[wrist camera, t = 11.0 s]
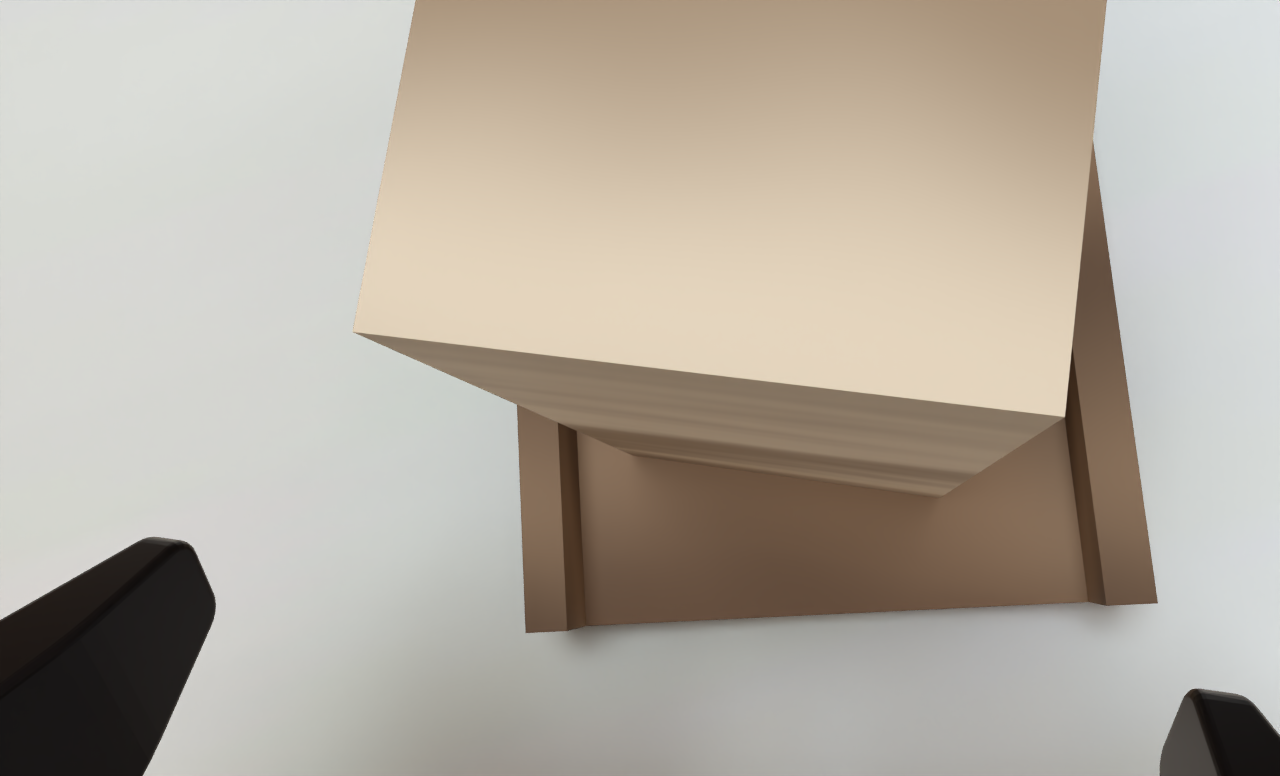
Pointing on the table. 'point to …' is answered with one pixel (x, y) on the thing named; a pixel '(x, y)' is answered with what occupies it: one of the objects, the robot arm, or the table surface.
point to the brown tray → (847, 516)
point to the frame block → (747, 224)
